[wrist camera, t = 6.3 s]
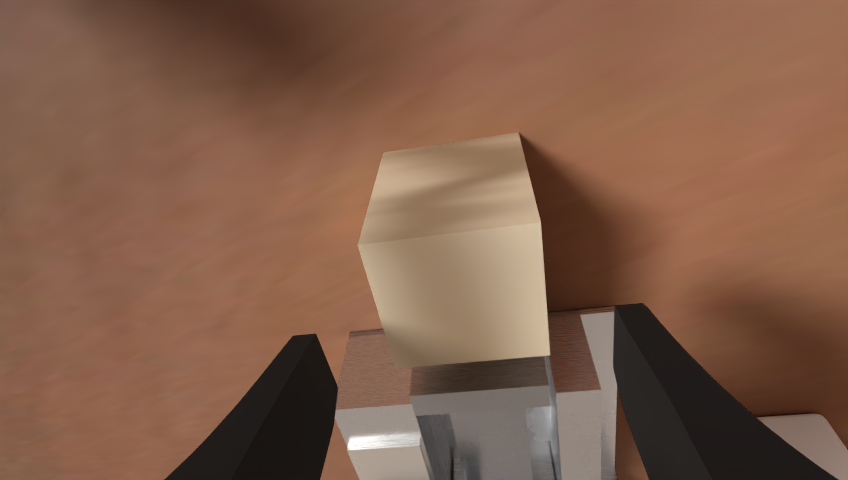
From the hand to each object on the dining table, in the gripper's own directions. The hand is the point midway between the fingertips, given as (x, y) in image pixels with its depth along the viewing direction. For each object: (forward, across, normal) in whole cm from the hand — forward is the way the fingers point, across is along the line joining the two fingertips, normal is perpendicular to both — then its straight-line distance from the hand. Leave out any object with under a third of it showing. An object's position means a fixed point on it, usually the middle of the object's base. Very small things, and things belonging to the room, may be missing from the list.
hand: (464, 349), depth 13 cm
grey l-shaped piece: (+6, +2, +8) cm, 10 cm away
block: (+7, 0, 0) cm, 7 cm away
